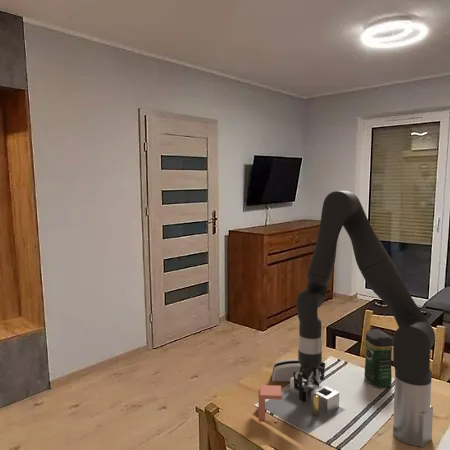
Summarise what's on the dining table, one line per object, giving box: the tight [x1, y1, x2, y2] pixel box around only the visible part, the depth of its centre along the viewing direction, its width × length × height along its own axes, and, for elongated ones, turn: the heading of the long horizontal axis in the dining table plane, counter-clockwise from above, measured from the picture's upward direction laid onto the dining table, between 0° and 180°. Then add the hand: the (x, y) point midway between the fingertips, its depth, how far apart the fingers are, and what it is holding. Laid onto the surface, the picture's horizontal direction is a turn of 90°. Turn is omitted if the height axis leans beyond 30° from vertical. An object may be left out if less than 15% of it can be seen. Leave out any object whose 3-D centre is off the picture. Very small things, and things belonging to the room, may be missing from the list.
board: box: [265, 389, 346, 434], centre depth 127 cm, size 20×18×1 cm
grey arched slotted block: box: [270, 358, 314, 382], centre depth 145 cm, size 17×5×10 cm, turn 89°
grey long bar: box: [289, 377, 340, 415], centre depth 130 cm, size 16×6×5 cm, turn 40°
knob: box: [313, 395, 319, 417], centre depth 122 cm, size 2×2×7 cm
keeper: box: [258, 384, 283, 423], centre depth 123 cm, size 7×6×8 cm
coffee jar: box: [363, 328, 394, 388], centre depth 143 cm, size 10×8×19 cm
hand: (309, 397), depth 131 cm, fingers open, 6 cm apart
